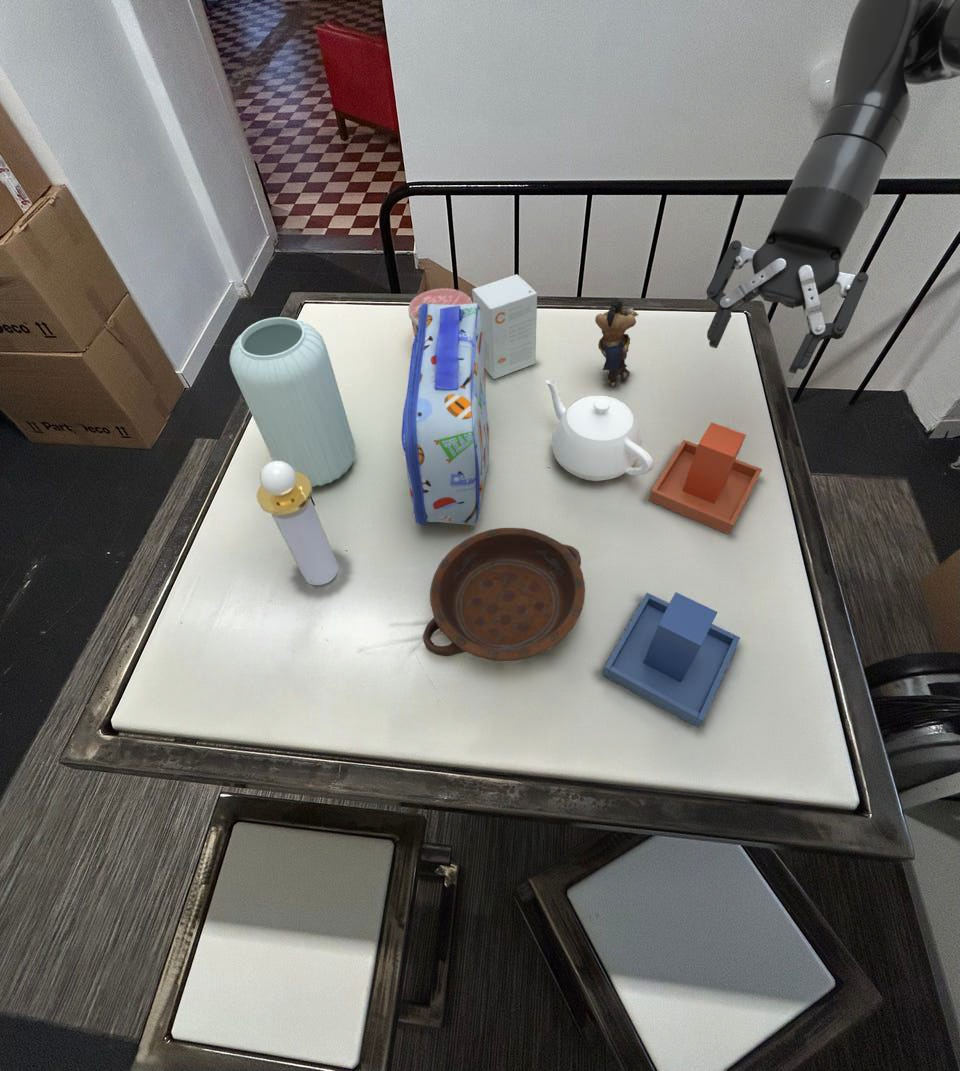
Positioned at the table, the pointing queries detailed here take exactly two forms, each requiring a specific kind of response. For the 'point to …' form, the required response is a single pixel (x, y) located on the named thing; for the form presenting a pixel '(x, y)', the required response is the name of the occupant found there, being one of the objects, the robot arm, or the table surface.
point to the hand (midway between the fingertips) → (751, 358)
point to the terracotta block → (713, 462)
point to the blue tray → (658, 687)
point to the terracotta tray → (698, 509)
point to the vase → (294, 397)
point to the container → (436, 301)
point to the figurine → (615, 339)
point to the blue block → (679, 636)
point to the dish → (505, 595)
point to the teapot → (597, 438)
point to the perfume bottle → (297, 520)
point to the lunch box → (446, 415)
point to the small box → (507, 324)
